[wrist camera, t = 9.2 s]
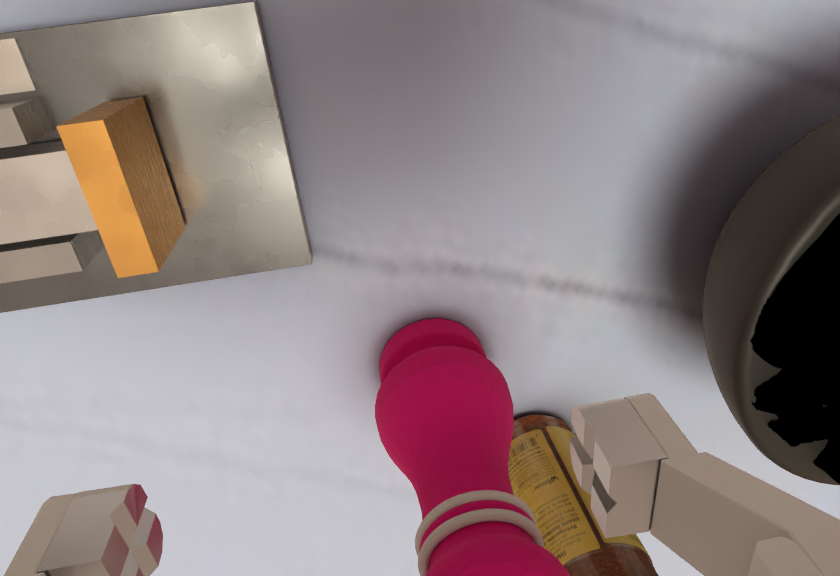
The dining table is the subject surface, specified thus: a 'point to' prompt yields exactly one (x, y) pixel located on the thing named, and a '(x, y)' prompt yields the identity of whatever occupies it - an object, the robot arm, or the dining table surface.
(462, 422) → the pepper mill
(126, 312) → the dining table surface
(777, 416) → the coal bowl
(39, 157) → the plunger
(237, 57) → the bench
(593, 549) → the sauce bottle
